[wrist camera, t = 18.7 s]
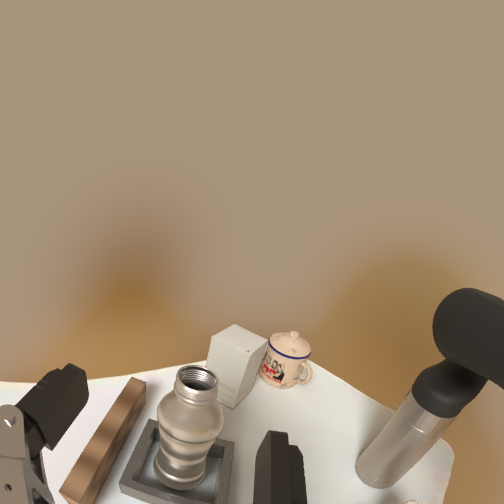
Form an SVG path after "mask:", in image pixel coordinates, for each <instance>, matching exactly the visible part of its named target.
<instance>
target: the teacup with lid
mask: <svg viewBox="0 0 504 504" xmlns="http://www.w3.org/2000/svg"><path fill="white" fill-rule="evenodd" d="M310 354H311V347H310V345H309V344H308V342H307V341H306V340H304V339H303V338H301V337H299V333H298V332H296V331H291V332H290V333H286V332H279V333H275V334H273V335H272V336H271V337H270V338H269V344H268V347H267V350H266V353H265V355H264V358H263V361H262V364H261V367H260V370H259V374H260V377H261V378H262V379H263V381H265V382H266V383H267V384H269V385H271V386H273V387H276V388H290V387H292V386H294V385H295V384H296V383H298V384H304V383H307V382H308V381H309V380H310V379H311V378H312V374H313V372H312V369H311V367H310V366H309V365H308V364H307V363H306V360H307V358H308V356H309V355H310ZM303 367H304V368H305V369H306V371H307V377H306V379H305V380H301V379H299V376H300V374H301V371H302V369H303Z"/></svg>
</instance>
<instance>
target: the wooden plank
mask: <svg viewBox="0 0 504 504" xmlns="http://www.w3.org/2000/svg"><path fill="white" fill-rule="evenodd" d="M145 396H146V382H144V381H141V380H139V379H136V378H134V377H131V379H130V380H129V381H128V383H127V384H126V386H125V387H124V389H123V390H122V392H121V393H120V395H119V396H118V398H117V399H116V401H115V402H114V404H113V405H112V407H111V409H110V410H109V412H108V413H107V415H106V416H105V418H104V419H103V421H102V422H101V424H100V425H99V427H98V428H97V430H96V432H95V433H94V435H93V436H92V438H91V439H90V441H89V443H88V444H87V446H86V447H85V449H84V451H83V452H82V454H81V455H80V457H79V459H78V460H77V462H76V463H75V465H74V467H73V468H72V470H71V471H70V473H69V475H68V476H67V478H66V480H65V481H64V483H63V485H62V486H61V488H60V490H59V492H60V494H61V495H62V496H63V497H64V499H65V500H66V501H67V502H68V503H69V504H93V503H94V501H95V499H96V497H97V495H98V493H99V491H100V489H101V487H102V485H103V483H104V481H105V479H106V477H107V475H108V473H109V471H110V469H111V467H112V465H113V463H114V461H115V459H116V457H117V455H118V454H119V452H120V450H121V448H122V446H123V444H124V442H125V440H126V438H127V436H128V434H129V432H130V430H131V428H132V427H133V425H134V423H135V421H136V419H137V417H138V415H139V413H140V411H141V410H142V408H143V406H144V404H145Z"/></svg>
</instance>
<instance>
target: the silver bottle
mask: <svg viewBox="0 0 504 504" xmlns="http://www.w3.org/2000/svg"><path fill="white" fill-rule="evenodd" d="M218 386H219V379H218V377H217V375H216V374H215V373H214V372H213V371H211V370H210V369H208V368H205V367H202V366H198V365H187V366H184V367H182V368H180V369H179V370H178V372H177V375H176V381H175V383H174V390H173V391H171V392H170V393H168V394H167V395H165V396H164V398H163V399H162V400H161V402H160V403H159V406H158V409H157V418H158V425H159V431H160V446H159V449H158V452H157V454H156V456H155V459H154V461H153V468H154V472H155V474H156V476H157V478H158V479H159V481H160V482H162V483H163V484H164V485H166V486H167V487H170V488H172V489H176V490H189V489H192V488H195V487H196V486H198V485H199V484H200V483H201V482H202V481H203V479H204V477H205V473H206V464H205V462H206V456H207V454H208V451H209V449H210V447H211V445H212V444H213V442H214V441H215V440H216V438H217V437H218V435H219V434H220V432H221V430H222V428H223V426H224V415H223V410H222V408H221V406H220V405H219V403H218V402H217V400H216V399H217V395H218Z"/></svg>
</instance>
